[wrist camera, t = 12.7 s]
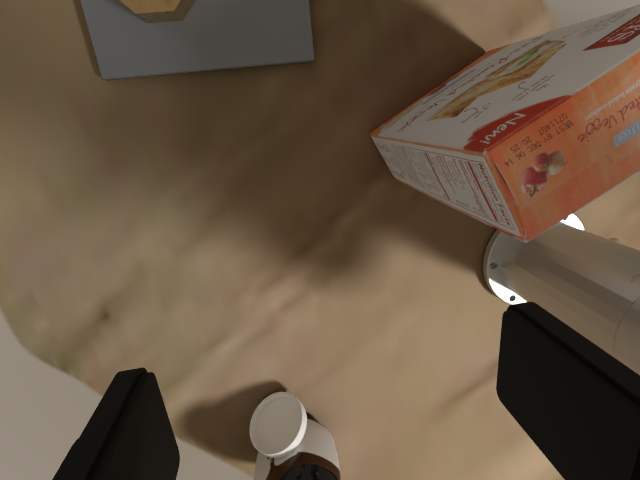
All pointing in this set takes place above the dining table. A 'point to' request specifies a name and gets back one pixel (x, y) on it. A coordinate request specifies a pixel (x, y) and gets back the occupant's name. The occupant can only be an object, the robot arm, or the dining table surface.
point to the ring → (160, 9)
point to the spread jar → (291, 442)
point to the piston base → (199, 37)
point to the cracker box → (527, 127)
